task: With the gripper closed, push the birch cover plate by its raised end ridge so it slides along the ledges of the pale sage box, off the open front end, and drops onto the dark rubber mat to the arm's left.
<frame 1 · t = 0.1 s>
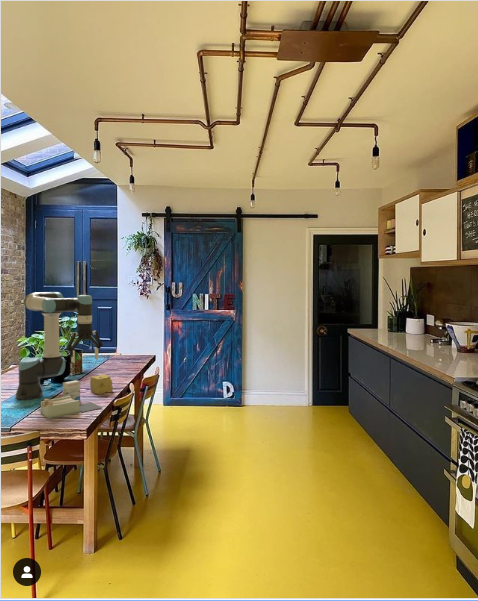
hand: (85, 360, 232), 28 cm above the table, fingers open, 13 cm apart
cheese: (101, 391, 272), on the table
sage box: (60, 413, 227), on the table
rubber mat: (86, 407, 238), on the table
ink box: (71, 401, 250), on the table
cover plate: (60, 404, 227), point 5 cm above the table, touching sage box
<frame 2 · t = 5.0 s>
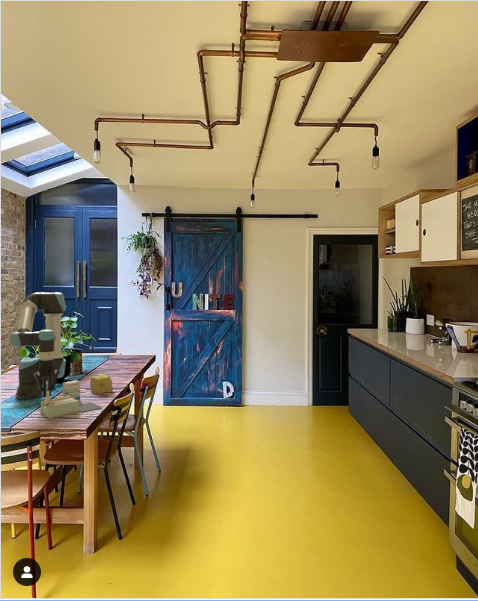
hand: (47, 402, 222), 7 cm above the table, fingers closed
cover plate: (61, 404, 228), point 5 cm above the table, touching gripper
everything else where it was.
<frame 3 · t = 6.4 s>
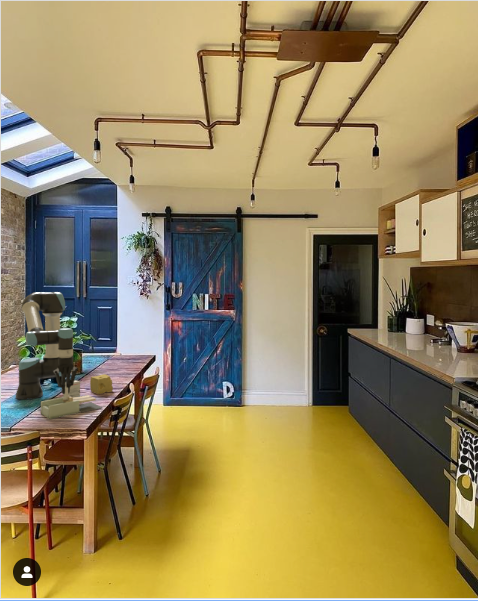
hand: (65, 399, 229), 7 cm above the table, fingers closed
cover plate: (79, 400, 235), point 5 cm above the table, touching gripper
everything else where it was.
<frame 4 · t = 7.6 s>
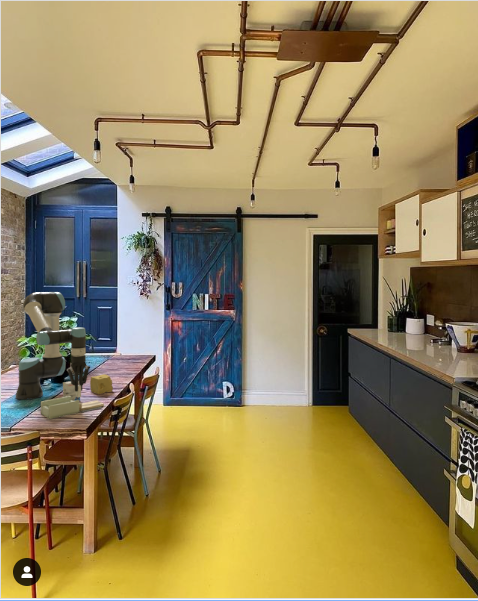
hand: (78, 396, 234), 7 cm above the table, fingers closed
cover plate: (88, 406, 238), resting on rubber mat
everything else where it was.
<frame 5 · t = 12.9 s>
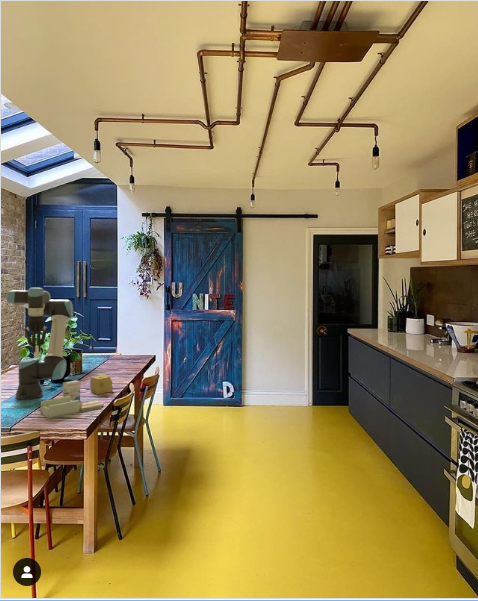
hand: (36, 357, 232), 29 cm above the table, fingers closed
nothing on the table moved.
at the end: cover plate inside the target area (7.1 cm from its centre), resting on rubber mat; cover plate moved 16.4 cm from its start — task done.
